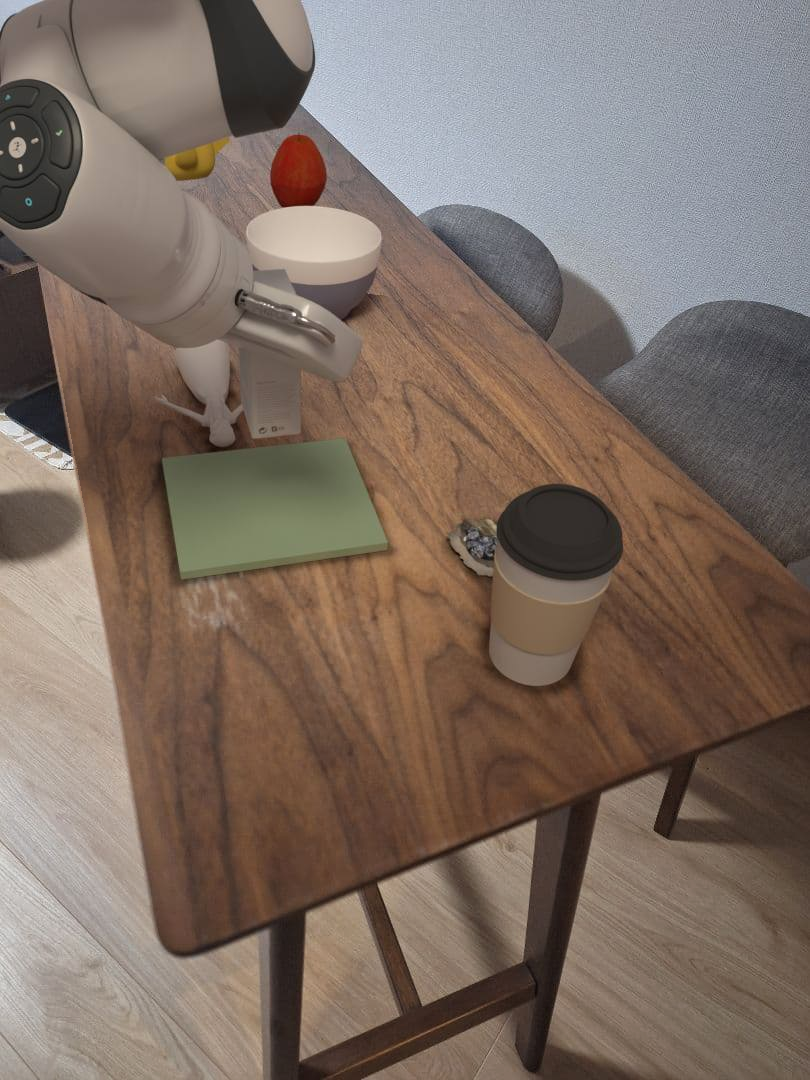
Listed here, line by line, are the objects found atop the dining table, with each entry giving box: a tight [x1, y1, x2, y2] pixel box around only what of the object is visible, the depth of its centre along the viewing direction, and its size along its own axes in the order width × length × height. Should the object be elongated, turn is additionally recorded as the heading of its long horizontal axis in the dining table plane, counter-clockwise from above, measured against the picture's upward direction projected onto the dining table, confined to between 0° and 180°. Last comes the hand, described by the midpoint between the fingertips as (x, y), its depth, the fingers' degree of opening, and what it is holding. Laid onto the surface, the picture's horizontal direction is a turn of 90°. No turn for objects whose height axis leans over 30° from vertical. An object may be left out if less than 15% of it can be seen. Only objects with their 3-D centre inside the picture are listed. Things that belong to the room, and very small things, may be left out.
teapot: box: [165, 137, 231, 182], centre depth 140 cm, size 14×13×10 cm
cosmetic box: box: [237, 269, 302, 440], centre depth 73 cm, size 6×4×12 cm
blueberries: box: [445, 517, 498, 577], centre depth 81 cm, size 7×8×2 cm
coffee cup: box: [488, 483, 624, 687], centre depth 68 cm, size 9×9×15 cm
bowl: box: [245, 205, 383, 321], centre depth 110 cm, size 16×16×10 cm
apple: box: [269, 132, 328, 208], centre depth 132 cm, size 8×8×11 cm
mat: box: [161, 437, 389, 581], centre depth 84 cm, size 18×16×1 cm
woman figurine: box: [154, 339, 244, 448], centre depth 95 cm, size 12×4×18 cm
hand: (271, 346), depth 73 cm, fingers closed on cosmetic box, 7 cm apart
